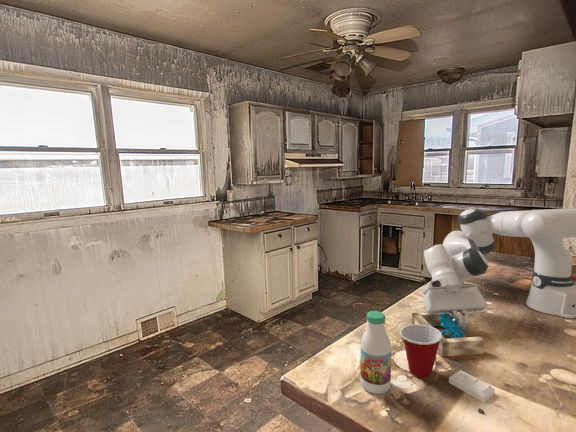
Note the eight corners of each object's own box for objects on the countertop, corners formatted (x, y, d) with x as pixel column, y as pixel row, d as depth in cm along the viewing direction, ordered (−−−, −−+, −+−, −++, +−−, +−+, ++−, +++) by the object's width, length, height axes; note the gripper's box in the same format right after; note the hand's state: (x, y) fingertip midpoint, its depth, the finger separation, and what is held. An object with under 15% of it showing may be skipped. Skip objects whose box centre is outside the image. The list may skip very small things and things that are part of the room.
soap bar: (459, 376, 89) (459, 368, 88) (494, 395, 81) (494, 386, 81) (448, 383, 86) (449, 374, 86) (483, 404, 79) (484, 394, 78)
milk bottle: (356, 377, 89) (356, 308, 86) (383, 374, 90) (384, 306, 87) (365, 396, 82) (366, 322, 79) (395, 393, 82) (396, 320, 79)
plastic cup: (402, 356, 98) (402, 319, 96) (441, 366, 93) (443, 326, 91) (395, 377, 89) (396, 337, 87) (439, 389, 84) (441, 346, 82)
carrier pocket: (446, 322, 118) (447, 310, 117) (483, 353, 98) (484, 339, 98) (411, 324, 117) (412, 313, 117) (441, 356, 97) (442, 342, 97)
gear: (461, 345, 100) (438, 316, 105) (446, 353, 104) (424, 325, 108) (471, 333, 108) (449, 307, 113) (458, 341, 112) (437, 316, 116)
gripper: (471, 287, 119) (488, 325, 111) (417, 291, 117) (430, 329, 109) (480, 280, 114) (498, 319, 105) (423, 283, 112) (438, 323, 104)
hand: (463, 324), depth 107 cm, fingers closed
